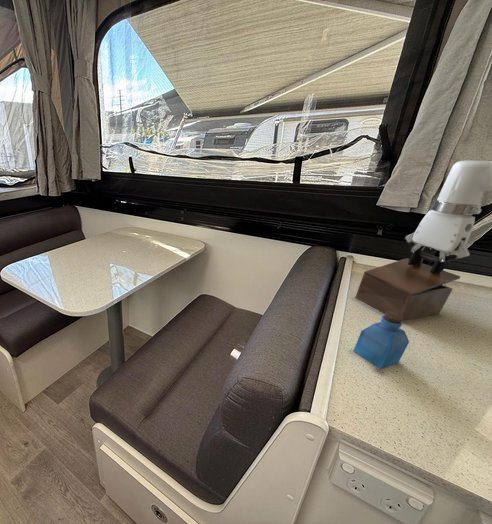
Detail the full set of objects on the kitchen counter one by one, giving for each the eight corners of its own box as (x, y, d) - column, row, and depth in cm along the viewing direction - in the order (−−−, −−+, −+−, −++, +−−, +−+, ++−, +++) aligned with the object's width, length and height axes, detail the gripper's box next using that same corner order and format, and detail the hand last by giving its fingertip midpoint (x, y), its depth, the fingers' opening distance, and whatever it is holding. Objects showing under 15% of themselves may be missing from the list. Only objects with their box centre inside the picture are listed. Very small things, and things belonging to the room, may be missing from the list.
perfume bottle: (353, 350, 67) (369, 310, 62) (370, 345, 68) (388, 305, 64) (380, 368, 61) (400, 326, 56) (398, 362, 63) (419, 320, 58)
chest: (391, 291, 92) (401, 268, 89) (439, 314, 80) (453, 288, 77) (354, 297, 89) (363, 274, 86) (399, 321, 77) (411, 295, 74)
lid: (406, 260, 88) (410, 245, 85) (459, 278, 76) (466, 262, 73) (363, 273, 86) (366, 259, 83) (411, 295, 74) (416, 279, 71)
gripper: (507, 216, 67) (469, 280, 74) (426, 201, 82) (401, 256, 89) (486, 217, 65) (449, 283, 72) (407, 202, 80) (384, 258, 88)
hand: (423, 267), depth 81 cm, fingers closed on lid, 5 cm apart
